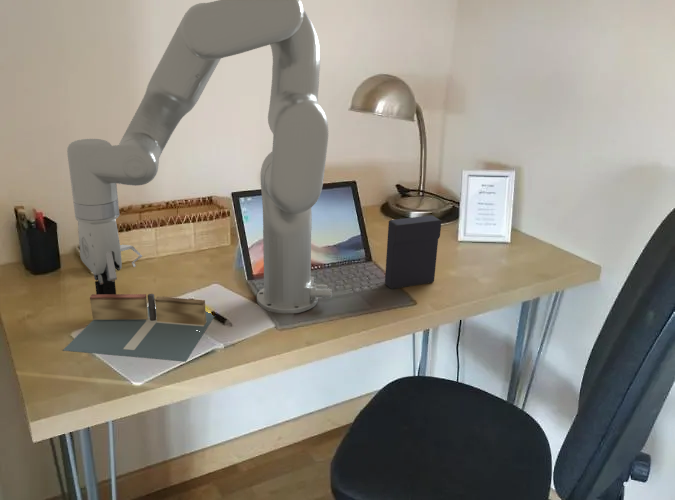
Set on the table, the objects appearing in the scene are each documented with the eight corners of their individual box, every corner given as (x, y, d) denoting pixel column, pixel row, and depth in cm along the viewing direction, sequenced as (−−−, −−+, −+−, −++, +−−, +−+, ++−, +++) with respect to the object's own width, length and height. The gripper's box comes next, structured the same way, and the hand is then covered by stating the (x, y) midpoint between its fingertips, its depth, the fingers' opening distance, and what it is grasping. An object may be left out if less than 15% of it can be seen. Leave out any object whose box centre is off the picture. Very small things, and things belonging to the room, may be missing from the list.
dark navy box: (425, 275, 141) (431, 213, 135) (435, 283, 137) (441, 220, 132) (382, 282, 137) (386, 218, 131) (391, 290, 133) (396, 225, 128)
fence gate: (148, 316, 118) (146, 294, 116) (147, 319, 117) (144, 297, 115) (94, 316, 117) (91, 294, 116) (92, 319, 116) (89, 297, 115)
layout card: (217, 313, 121) (217, 311, 121) (186, 363, 105) (185, 360, 105) (110, 305, 124) (109, 303, 123) (62, 352, 107) (62, 350, 107)
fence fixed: (206, 322, 117) (204, 297, 115) (204, 325, 116) (202, 300, 114) (151, 317, 118) (149, 293, 116) (148, 320, 117) (146, 296, 115)
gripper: (63, 201, 115) (74, 290, 122) (88, 224, 104) (100, 320, 111) (103, 195, 119) (112, 281, 126) (132, 216, 108) (140, 310, 115)
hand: (106, 299), depth 118 cm, fingers closed
